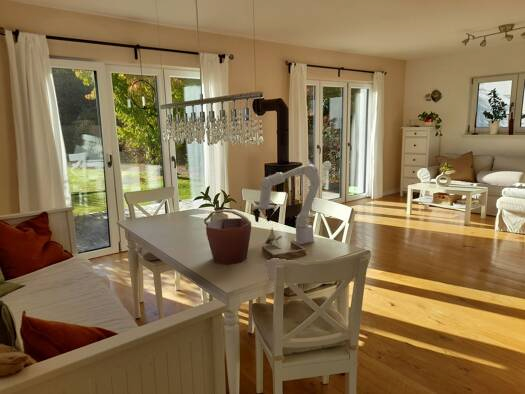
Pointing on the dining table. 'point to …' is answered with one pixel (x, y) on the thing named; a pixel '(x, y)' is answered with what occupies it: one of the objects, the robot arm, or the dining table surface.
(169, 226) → the dining table surface
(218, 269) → the dining table surface
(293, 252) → the walnut u-shaped block
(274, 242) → the origami crane
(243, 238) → the bucket
